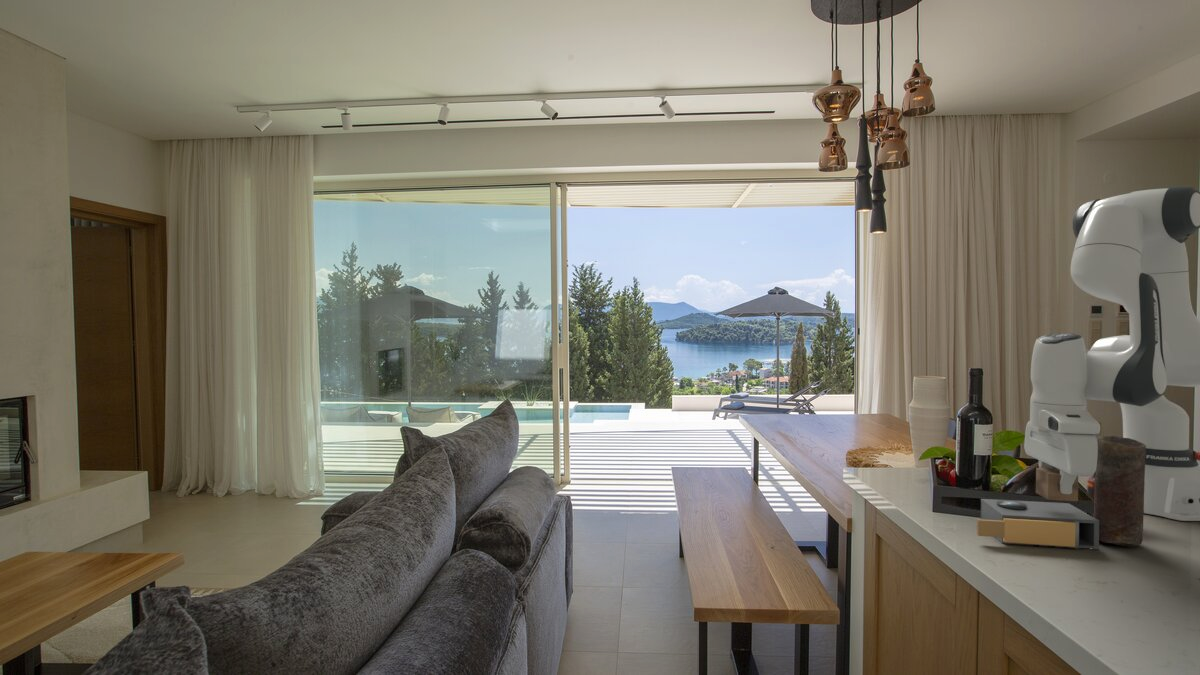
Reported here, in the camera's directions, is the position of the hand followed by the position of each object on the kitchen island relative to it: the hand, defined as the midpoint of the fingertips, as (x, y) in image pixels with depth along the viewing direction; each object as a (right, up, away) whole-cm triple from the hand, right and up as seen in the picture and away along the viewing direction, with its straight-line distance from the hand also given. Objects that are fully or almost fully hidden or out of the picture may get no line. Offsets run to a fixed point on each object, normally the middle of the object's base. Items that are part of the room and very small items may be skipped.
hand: (1056, 488), depth 120 cm
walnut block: (0, -2, 0) cm, 2 cm away
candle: (+10, -10, -2) cm, 15 cm away
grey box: (-2, -10, +2) cm, 10 cm away
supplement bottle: (+18, -10, +11) cm, 23 cm away
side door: (-8, -10, -3) cm, 13 cm away
